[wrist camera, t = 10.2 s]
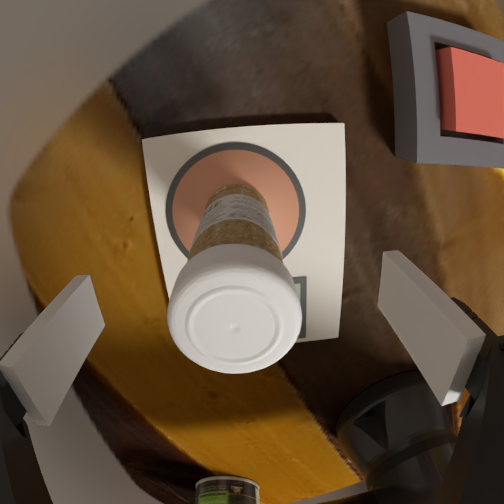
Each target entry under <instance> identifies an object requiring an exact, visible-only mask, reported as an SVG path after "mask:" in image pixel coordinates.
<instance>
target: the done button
mask: <svg viewBox="0 0 504 504" xmlns="http://www.w3.org/2000/svg"><path fill="white" fill-rule="evenodd" d="M435 52H436V61H437V72H438V84H439V102H440V129H443V130H451V131H458V132H466V133H473V134H480V135H486V136H493V137H498V138H504V63H501V62H498V61H495V60H493V59H490V58H487V57H484V56H481V55H478V54H474V53H471V52H468V51H464V50H461V49H457V48H454V47H447V48H443V49H439V50H435Z"/></svg>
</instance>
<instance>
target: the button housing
mask: <svg viewBox="0 0 504 504" xmlns="http://www.w3.org/2000/svg"><path fill="white" fill-rule="evenodd" d="M386 24H387V32H388V40H389V48H390V57H391V68H392V80H393V96H394V118H395V157H398V158H402V159H405V160H408V161H411V162H415V163H425V164H449V165H466V166H481V167H493V168H504V138H498V137H493V136H486V135H480V134H473V133H466V132H458V131H451V130H443V129H440V102H439V84H438V72H437V61H436V52H435V50H439V49H443V48H447V47H454V48H457V49H461V50H464V51H468V52H471V53H474V54H478V55H481V56H484V57H487V58H490V59H493V60H495V61H498V62H501V63H504V42H503V41H501V40H498V39H496V38H494V37H491V36H488V35H486V34H483V33H481V32H478V31H475V30H472V29H469V28H466V27H463V26H460V25H457V24H454V23H451V22H447V21H444V20H440V19H437V18H433V17H429V16H425V15H421V14H417V13H413V12H409V11H406V12H404V13H402V14H400V15H399V16H397V17H395V18H393V19H391V20H390V21H388V22H386Z"/></svg>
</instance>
